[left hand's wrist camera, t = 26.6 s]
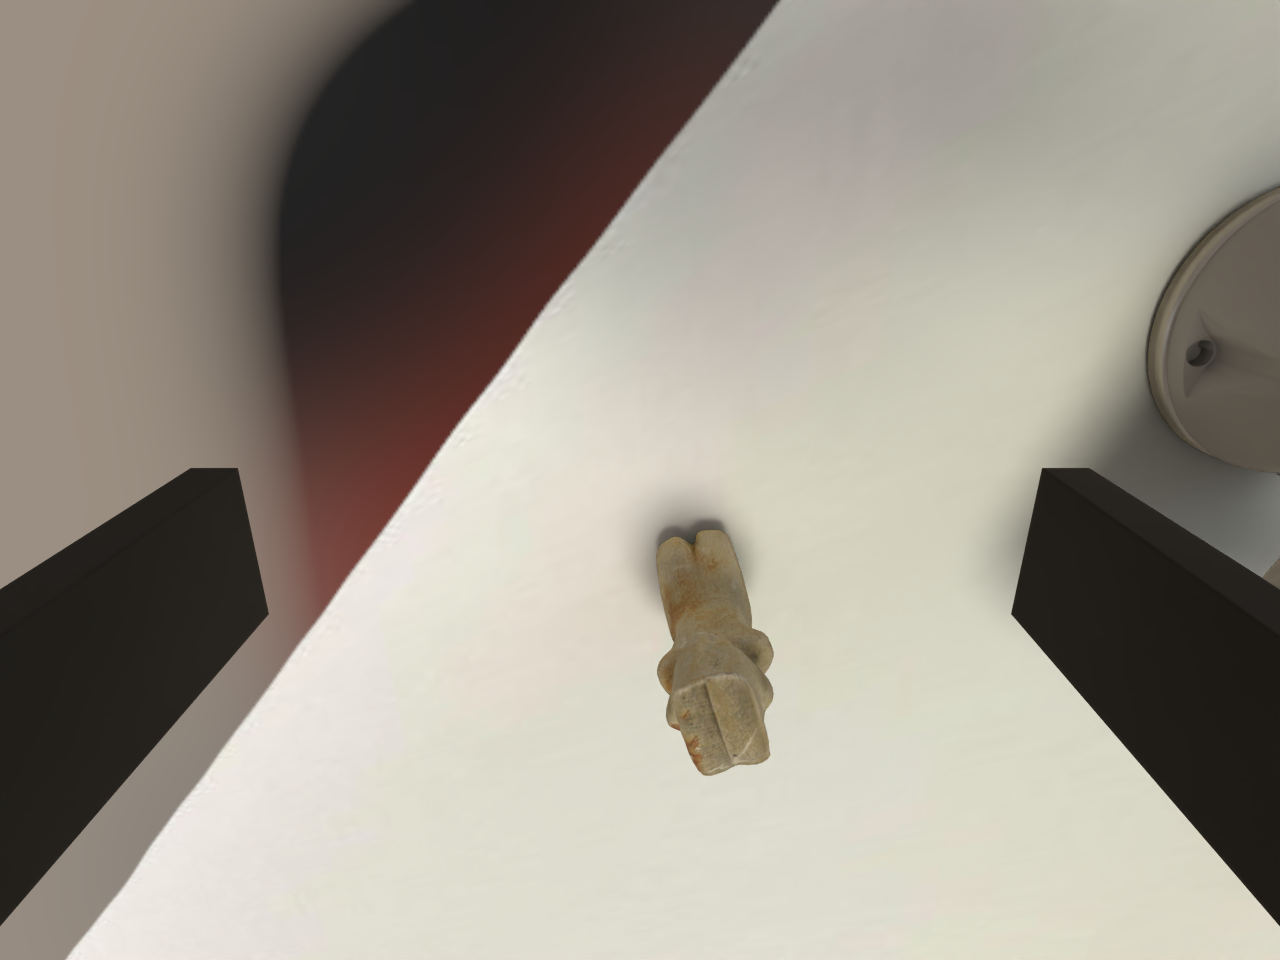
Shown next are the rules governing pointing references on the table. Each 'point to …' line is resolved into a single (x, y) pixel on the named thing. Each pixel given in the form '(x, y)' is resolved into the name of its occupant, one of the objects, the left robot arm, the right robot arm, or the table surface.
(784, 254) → the table surface
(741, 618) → the sculpture
